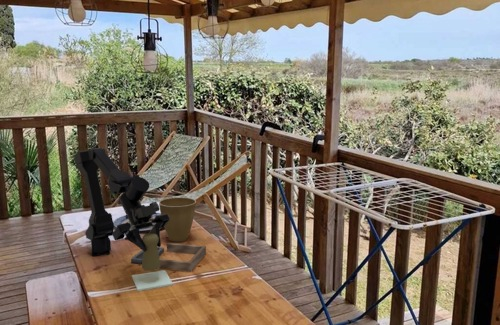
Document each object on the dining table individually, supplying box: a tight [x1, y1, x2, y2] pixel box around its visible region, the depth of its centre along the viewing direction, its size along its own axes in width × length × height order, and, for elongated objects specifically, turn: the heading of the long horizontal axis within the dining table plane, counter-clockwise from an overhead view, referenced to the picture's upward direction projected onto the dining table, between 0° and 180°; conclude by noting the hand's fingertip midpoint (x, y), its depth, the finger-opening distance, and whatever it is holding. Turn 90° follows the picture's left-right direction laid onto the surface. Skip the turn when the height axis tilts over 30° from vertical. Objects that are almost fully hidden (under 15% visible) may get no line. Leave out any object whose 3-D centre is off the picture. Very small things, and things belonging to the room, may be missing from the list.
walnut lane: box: [159, 242, 207, 273], centre depth 162 cm, size 15×16×3 cm
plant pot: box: [158, 196, 197, 243], centre depth 182 cm, size 15×15×16 cm
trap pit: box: [130, 246, 165, 265], centre depth 164 cm, size 7×13×2 cm, turn 167°
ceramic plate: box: [113, 212, 161, 232], centre depth 201 cm, size 26×26×3 cm
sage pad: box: [131, 269, 173, 292], centre depth 145 cm, size 11×11×1 cm
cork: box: [141, 232, 161, 272], centre depth 143 cm, size 6×6×11 cm
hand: (152, 248), depth 142 cm, fingers closed on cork, 5 cm apart
